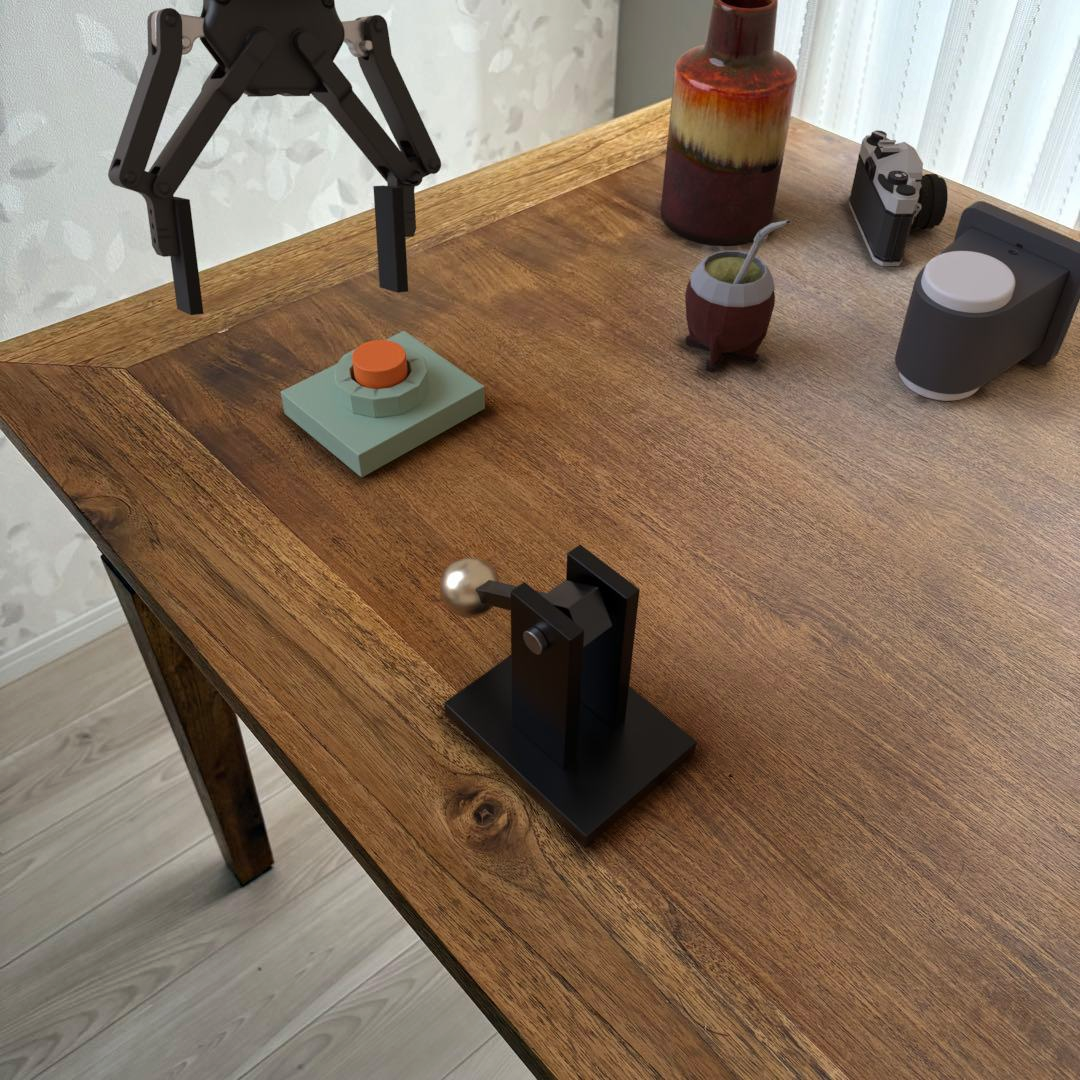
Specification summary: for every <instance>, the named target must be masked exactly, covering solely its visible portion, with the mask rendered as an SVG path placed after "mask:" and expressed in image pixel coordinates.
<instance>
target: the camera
mask: <svg viewBox="0 0 1080 1080" xmlns="http://www.w3.org/2000/svg"><path fill="white" fill-rule="evenodd" d="M887 136H888V134H887V132H885V131H883V130H877V129H876V130H874V131H871V133H870V134H866V135H865V136H864V138H862V139H861V144H860V149H859V153H858V158H857V163H856V167H855V172H854V178H853V180H852V185H851V190H850V195H849V198H848V206H849V209H850V211H851V213H852V216H853V218H854V220H855V222H856V225H857V227H858V229H859V232H860V234H861V236H862V239H863V241H864V243H865V246H866V248H867V250H868V252H869V254H870V257H871V259H872V261H873V262H874V263H876V264H878V265H879V266H881V267H900V265H901V263H902V262H903V258H904V256H905V250H906V248H907V247H906V246H907V244H908V239H909V235H910V232H915V231H916V230H917V229H920V230H932V229H934V228H935V227H937V226H940V225H941V224H942V222H943V221H944V219H945V215H946V213H947V207H948V197H949V195H948V185H947V182H946V180H945V178H943V177H940V176H939V175H938V174H936V173H925V174H924V173H923V171H924V162H923V161H922V159H921V157H920V155H919V153H918V152H917V150H916V149H915V147H914V146H912V145H910V144H909V143H907V142H905V141H902V142H898V143H897V140H896V139H890V138H888V137H887Z"/></svg>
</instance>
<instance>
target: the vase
mask: <svg viewBox="0 0 1080 1080" xmlns="http://www.w3.org/2000/svg"><path fill="white" fill-rule="evenodd" d="M778 4H779V1H778V0H712V3H711V9H710V13H709V14H710V15H709V20H708V25H707V30H706V34H705V35H706V36H705V41H704V43H703V44H700V45H697V46H695V47H692V48H690V49H687V50H686V51H685V52H684V53H682V55H680V57H679V58H678V59H677V61H676V63H675V67H674V73H673V80H672V82H673V83H672V91H671V102H670V112H669V121H668V131H667V140H666V141H667V143H666V150H665V151H666V152H665V163H664V171H663V172H664V173H663V181H662V193H661V203H660V216H661V217H660V218H661V220H662V222H663V223H664V225H665V226H666V228H668V229H669V230H670V231H671V232H673V233H675V234H676V235H678V236H680V237H682V238H684V239H686V240H690V241H691V242H695V243H700V244H706V245H711V246H712V245H715V246H731V245H741V244H746V243H749V242H752V241H754V238H755V236H756V234H757V233H758V231H759V230H761V229H763V228H764V227H766V226H768V225H769V224H771V223H773V217H774V211H775V207H776V201H777V200H776V199H777V195H778V190H779V183H780V179H781V174H782V173H781V172H782V167H783V161H784V156H785V150H786V146H787V145H786V144H787V139H788V134H789V129H790V128H789V127H790V121H791V116H792V109H793V106H794V105H793V104H794V99H795V94H796V93H795V92H796V86H797V80H798V71H797V69H796V66H795V65H794V63H793V62H792V60H791V59H789V58H788V57H787V56H786V55H785V54H782V53H781V52H779V51H777V50H775V40H776V31H777V30H776V29H777V17H778V6H779V5H778Z"/></svg>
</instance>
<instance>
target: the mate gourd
mask: <svg viewBox="0 0 1080 1080" xmlns="http://www.w3.org/2000/svg"><path fill="white" fill-rule="evenodd" d="M791 223H792V220H791V219H788V220H782V221H777V222H776V221H775V222H771V224H769V225H768V226H766V227H764V228H763V229H761V230H759V231H758V233H757V234H756V236H755V238H754V240H753V243H752V245H751V247H750V249H749V251H748V252H744V251H740V250H722V251H717V252H713V253H711V254H709V255H708V256H706V257H704V258H703V259H702V260H701V261H700V262H699V263H698V264H697V266H696V267H695V268H694V270H693V271H692V273H691V274H690V278H689V280H688V283H687V285H686V288H685V293H684V294H685V295H684V303H685V317H686V325H687V329H688V335H687V336H686V337H685V345H687V346H690V347H693V348H697V349H700V350H704V351H708V352H709V359H708V361H707V362H706V365H705V371H707V372H709V373H715V372H716V371H717V369H718V367H719V366H720V364H721V362H722V360H723V359H724V358H725V357H729V358H734V359H737V360H741V361H744V362H749V363H752V364H756V363H758V360H759V357H760V354H759V353H758V351H759V348H760V347H761V345H762V343H763V341H764V339H765V337H766V335H767V333H768V329H769V327H770V322H771V320H772V316H773V312H774V308H775V302H776V296H775V295H776V294H775V289H776V288H775V281H774V277H773V274H772V272H771V271H770V269H769V268H768V266H767V265H766V264H765V262H763V260H762V259H760V258H759V257H757V254H758V252H759V250H760V248H761V247H762V246H763V244H764V243H765V242H766V241H767V239H768V238H769V234H770V233H772V232H773V231H776V230H778V229H780V228H783V227H785V226H787V225H789V224H791Z"/></svg>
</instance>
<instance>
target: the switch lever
mask: <svg viewBox="0 0 1080 1080" xmlns="http://www.w3.org/2000/svg"><path fill="white" fill-rule="evenodd" d="M518 586H519V585H514V584H509V583H506V582H501V581H500V577H499V575H498V573H497V571H496V570H495V568H494V567H493V566H492V565H491V564H489V562H487V561H485V560H483V559H481V558H477V557H471V556H470V557H469V556H468V557H463V558H458V559H457V560H455V561H453V562H452V563H451V564H449V565H448V566H447V567H446V568H445V570H444V571H443V573H442V575H441V577H440V581H439V595H440V597H441V601H442V602H443V604H444V606H445V607H446V608H447V609H448V611H450V612H451V613H452V614H454V615H456V616H458V617H461V618H465V619H475V618H480V617H482V616H484V615H486V614H487V613H489V612H490V611H491V610H492V609H493V608H499V609H502V610H506V611H510V612H511V594H510V592H511V591H512V590H513V589H515V588H516V587H518ZM534 590H535V591H537V592H538V593H539V594H540V595H541V596H543V597H544V598H545V599H546V600H548V601H549V602H550V603H551V604H553V605H554V606H555V607H556V608H558V609H559V610H560V611H561V612H562V613H564V614H565V615H566V616H567V617H569V618H570V619H571V620H572V621H574V622H575V623H576V624H577V625H579V626H580V627H581V628H582V629H584V644H583V647H585V646H586V645H588V644H589V643H590V642H592V641H593V640H594V639H596V638H597V637H598V636H600V635H601V634H602V633H604V632H605V631H606V630H608V629H609V628H611V627H612V626H613V625H612V622H611V619H610V617H609V614H608V611H607V609H606V606H605V603H604V601H603V598H602V595H601V592H600V590H599V587H596V586H592V585H587V584H582V583H577V582H572V581H568V580H566V579H565V580H563V581H562V582H561V583H559V584H558V585H556V586H555V587H553V588H552V589H551V590H549V591H547V592H544V591H541V590H536V589H534Z"/></svg>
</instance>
